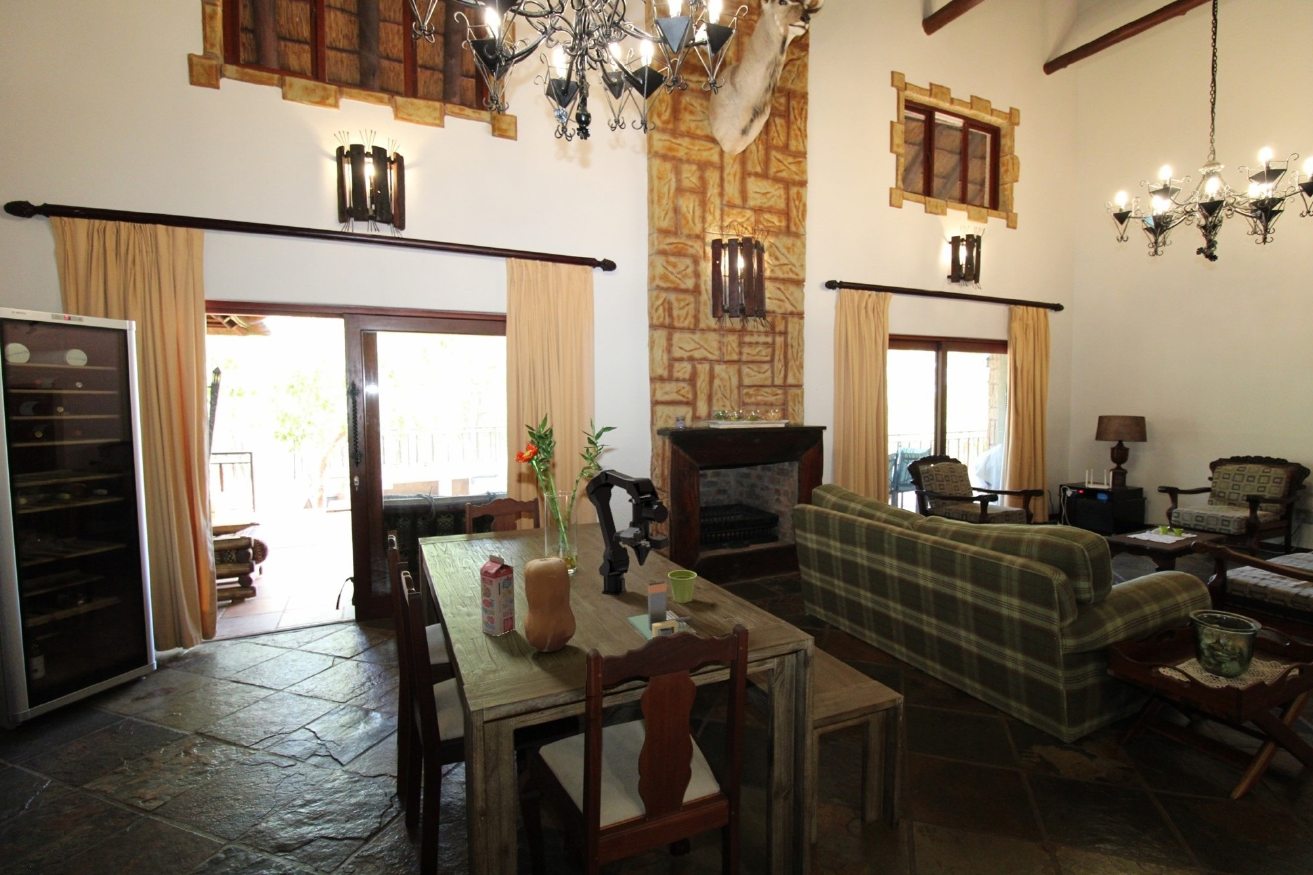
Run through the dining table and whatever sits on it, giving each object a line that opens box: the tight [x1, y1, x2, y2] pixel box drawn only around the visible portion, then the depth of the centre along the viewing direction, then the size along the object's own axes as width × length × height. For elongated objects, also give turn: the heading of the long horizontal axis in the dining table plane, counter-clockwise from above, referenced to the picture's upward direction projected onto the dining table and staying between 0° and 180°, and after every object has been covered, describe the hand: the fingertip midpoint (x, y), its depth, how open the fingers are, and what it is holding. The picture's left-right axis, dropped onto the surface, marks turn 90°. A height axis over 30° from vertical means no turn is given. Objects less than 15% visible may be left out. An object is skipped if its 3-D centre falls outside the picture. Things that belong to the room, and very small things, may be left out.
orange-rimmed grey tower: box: [647, 581, 692, 635], centre depth 173 cm, size 8×13×13 cm, turn 114°
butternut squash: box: [523, 557, 577, 653], centre depth 162 cm, size 14×13×25 cm
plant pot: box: [667, 569, 698, 604], centre depth 200 cm, size 9×9×9 cm
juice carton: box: [479, 553, 516, 636], centre depth 176 cm, size 7×7×22 cm
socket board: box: [627, 610, 697, 641], centre depth 178 cm, size 18×14×4 cm
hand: (641, 565), depth 196 cm, fingers closed
